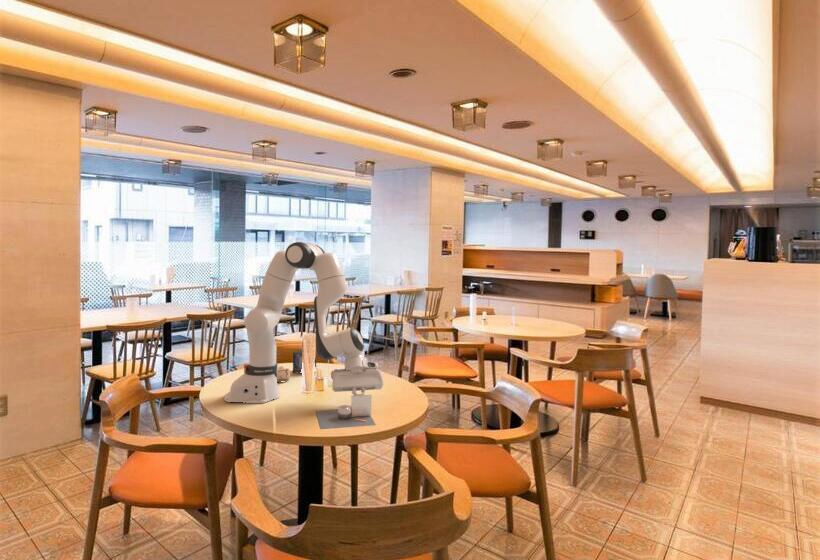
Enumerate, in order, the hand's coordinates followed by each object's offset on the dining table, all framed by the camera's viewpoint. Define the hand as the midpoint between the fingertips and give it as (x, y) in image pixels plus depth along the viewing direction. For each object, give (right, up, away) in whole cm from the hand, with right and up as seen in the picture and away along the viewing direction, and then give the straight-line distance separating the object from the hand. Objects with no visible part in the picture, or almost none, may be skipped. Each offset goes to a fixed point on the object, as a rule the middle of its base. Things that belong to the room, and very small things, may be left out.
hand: (359, 399), depth 196 cm
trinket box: (-46, -2, +44) cm, 64 cm away
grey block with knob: (-1, -5, -5) cm, 8 cm away
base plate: (-5, -6, -6) cm, 10 cm away
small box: (-34, -1, +61) cm, 70 cm away
